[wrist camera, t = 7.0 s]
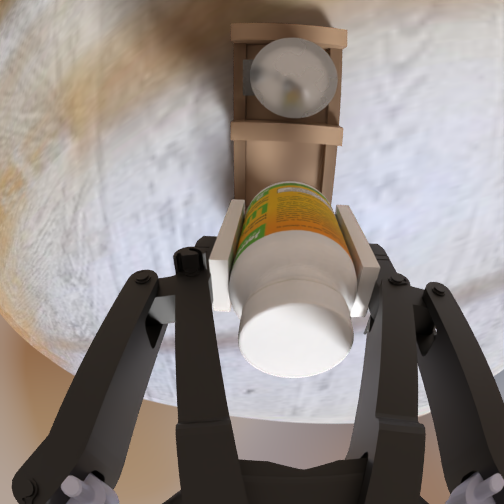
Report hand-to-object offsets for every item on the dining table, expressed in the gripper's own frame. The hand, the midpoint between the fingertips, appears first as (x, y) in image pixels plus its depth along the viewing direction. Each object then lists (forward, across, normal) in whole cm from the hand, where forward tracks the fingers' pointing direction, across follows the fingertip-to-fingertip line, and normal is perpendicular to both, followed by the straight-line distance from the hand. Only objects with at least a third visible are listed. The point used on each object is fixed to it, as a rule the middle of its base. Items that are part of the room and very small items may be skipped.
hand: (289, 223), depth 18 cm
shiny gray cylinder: (+11, 0, +8) cm, 14 cm away
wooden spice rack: (+12, 0, 0) cm, 12 cm away
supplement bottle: (+1, 0, 0) cm, 1 cm away
